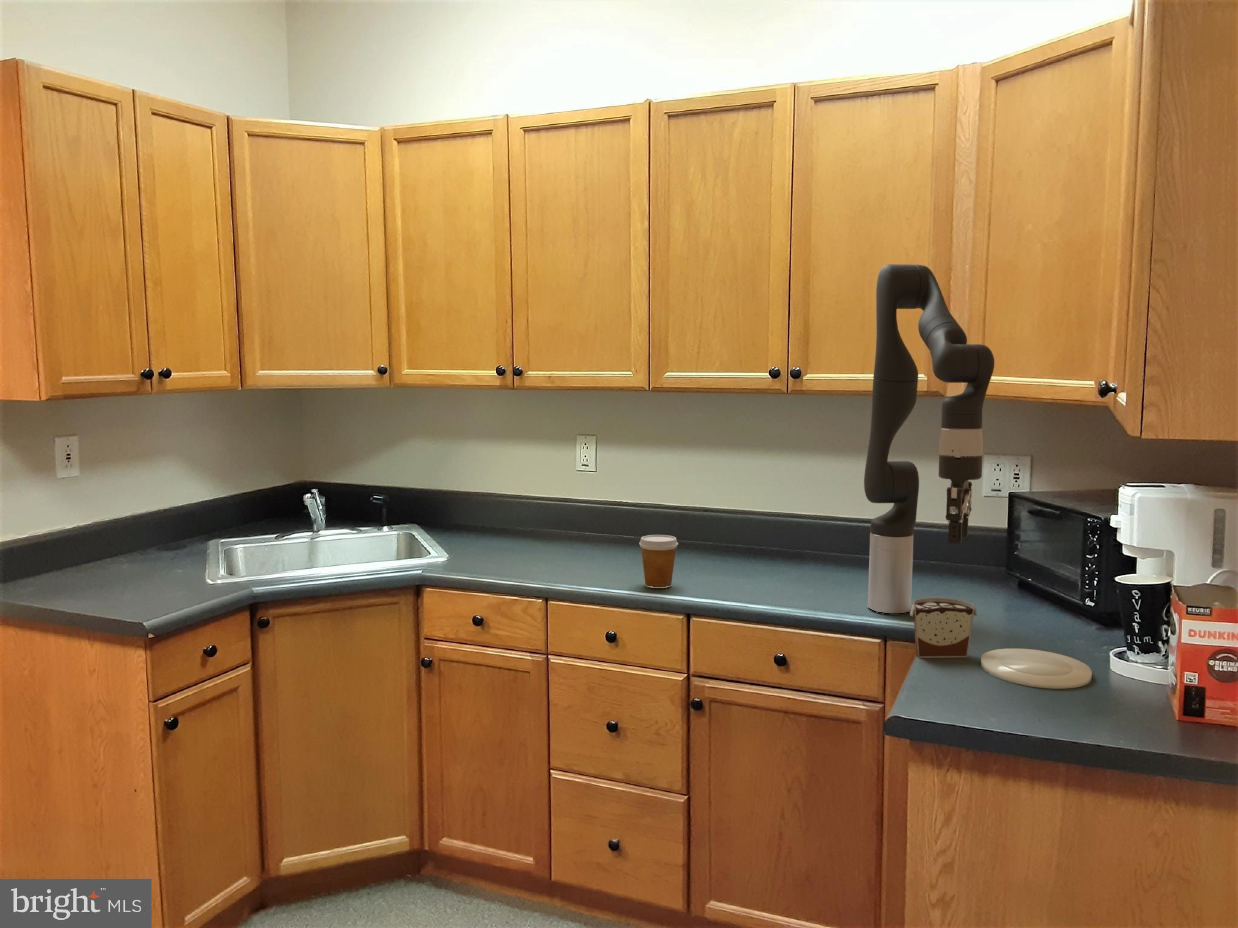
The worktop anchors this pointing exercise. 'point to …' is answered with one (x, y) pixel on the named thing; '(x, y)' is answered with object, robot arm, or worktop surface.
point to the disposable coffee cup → (658, 559)
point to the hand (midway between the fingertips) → (958, 539)
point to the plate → (1036, 668)
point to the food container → (942, 627)
